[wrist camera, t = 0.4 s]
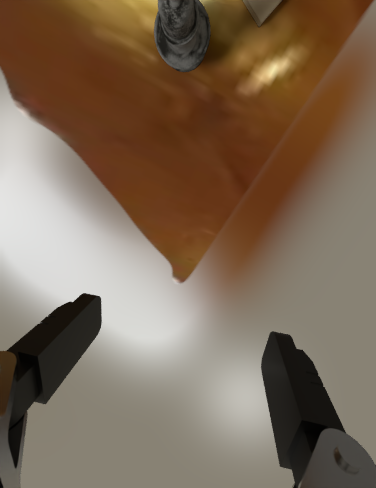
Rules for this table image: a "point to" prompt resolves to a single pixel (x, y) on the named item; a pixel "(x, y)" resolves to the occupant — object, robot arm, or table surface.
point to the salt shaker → (182, 33)
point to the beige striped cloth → (261, 9)
